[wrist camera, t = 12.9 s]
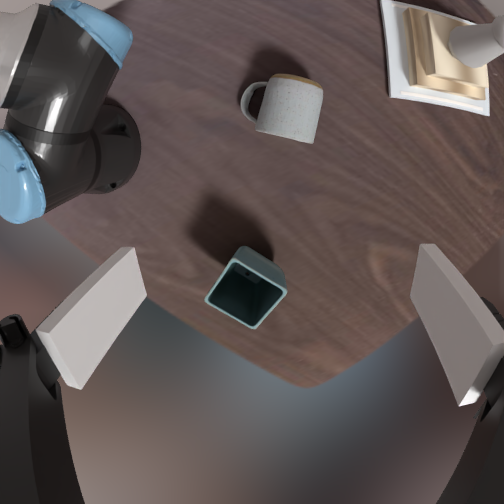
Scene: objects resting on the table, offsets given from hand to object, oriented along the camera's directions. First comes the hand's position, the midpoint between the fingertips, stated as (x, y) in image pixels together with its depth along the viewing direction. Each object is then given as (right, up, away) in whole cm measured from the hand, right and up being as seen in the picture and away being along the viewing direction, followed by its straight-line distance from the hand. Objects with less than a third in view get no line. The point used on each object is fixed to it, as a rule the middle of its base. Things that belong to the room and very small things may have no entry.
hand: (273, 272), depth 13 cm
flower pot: (-1, -1, +36) cm, 36 cm away
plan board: (+27, +30, +17) cm, 43 cm away
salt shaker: (+26, +27, +11) cm, 39 cm away
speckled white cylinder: (+3, +21, +25) cm, 33 cm away
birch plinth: (+27, +30, +17) cm, 43 cm away
